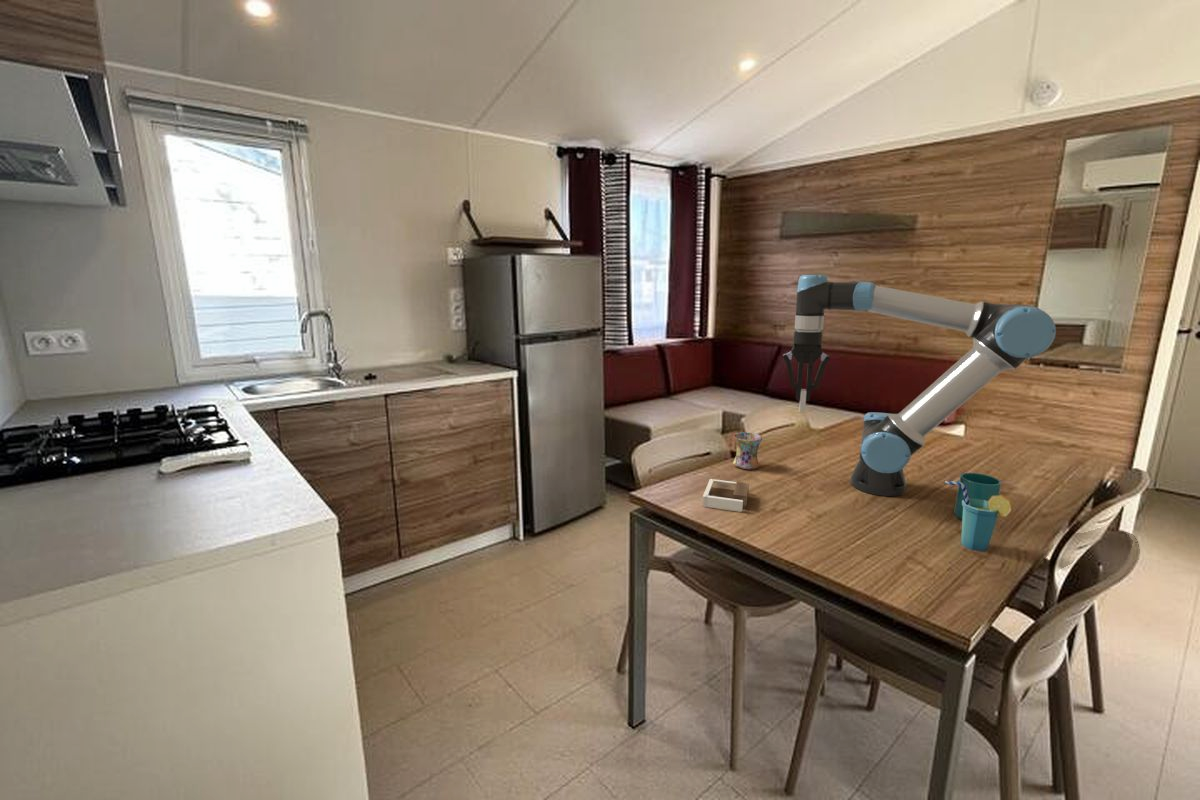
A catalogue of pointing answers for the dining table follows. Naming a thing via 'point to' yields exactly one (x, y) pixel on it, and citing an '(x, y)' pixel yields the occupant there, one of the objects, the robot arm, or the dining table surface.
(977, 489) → the cup
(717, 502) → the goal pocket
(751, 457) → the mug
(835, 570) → the dining table surface
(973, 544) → the cup
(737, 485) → the t block
